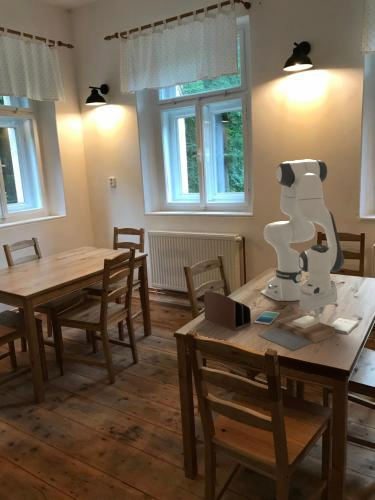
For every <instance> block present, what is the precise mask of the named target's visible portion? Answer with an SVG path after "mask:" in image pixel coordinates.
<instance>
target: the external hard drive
mask: <svg viewBox="0 0 375 500" xmlns="http://www.w3.org/2000/svg"><path fill="white" fill-rule="evenodd" d="M358 325H359V321H357V320H352V319H348V318H347V319H346V318H343V317H342V318H341V317H338V318H337V319H336V320H335V321H333V322H332V323H330V325H329V326H332V327H335V333H340V334H345V335H348V334H349V333H350V332H352V330H354V329H355V328H356V327H357V326H358Z"/></svg>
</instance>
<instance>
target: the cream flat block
mask: <svg viewBox="0 0 375 500" xmlns="http://www.w3.org/2000/svg"><path fill="white" fill-rule="evenodd" d="M319 322H320V318H316V317H315V316H311V315H308V314H307V315H305V316H303V317H302V318H299V319H296V320H294V321H293V324H294V325H296V326H299V327H302V328H304V329H305V328H308V327H310V326H313V325H315V324H318V323H319Z"/></svg>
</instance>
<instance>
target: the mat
mask: <svg viewBox="0 0 375 500" xmlns="http://www.w3.org/2000/svg"><path fill="white" fill-rule="evenodd" d="M258 336H259V337H261V338H263V339H264V340H267V341H270V342H272V343H274V344H277V345H278V346H281V347H283V348H286V349H288V350H290V351H292V352H294V351H297V350H299V349H301V348H303V347H306V346H308V345H310V344H313V341H310V340H308V339H305V338H303V337H300V336H298V335H295V334H293V333H290V332H288V331H285V330H283V329H280V328H276V327H275V328H272V329H271V330H270V329H269V330H267V331H265V332H262V333H260V334H258Z"/></svg>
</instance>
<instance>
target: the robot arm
mask: <svg viewBox="0 0 375 500" xmlns="http://www.w3.org/2000/svg"><path fill="white" fill-rule="evenodd" d="M275 172H276V173H275V174H276V180H277V182H278V184H279V185H280V186H281V189H280V190H281V191H280V200H279V201H280V202H279V208H280V209H279V210H280V211H281V212H282V213H283V214H284V215H286V216H288V217H289V220H284V221H274V222H271V223H267V224H266V225H265V226H264V228H263V238H264V240H265V241H266V242H267V243H268V244H269V245H270V246H272V247H273V249H274V250H275V252H276V255H277V269H275V270H274V273H275V276H273V277H272V278H271V279H269V280H267V282H266V285H265V289H262V290H261V291H260V292H261V295H264V296H266V297H268V298H270V299H273V300H275V301H278V302H279V301H286V302H294V301H299V309H300V311H301V312H305V313H310V312H312V311H313V312H314V318H317V319H320V318H321V317H324V311H325V308H326V306H329V305H331V304H333V303H337V300H338V289H337V285H336V282H335V281H334V280H332V277H331V273H337V272H339V271H340V270H341V269H342V268H343V267H344V265H345V256H344V253H343V250H342V247H341V244H340V238H339V235H338V229H337V225H336V222H335V218H334V215H333V212H331V211H330V210H329V209H328V208H327V207H326V205H325V199H324V190H323V182H324V181H325V180H327V179H326V178H327V176H328V165H327V164H326V163H325V161H324V160H320V159H315V160H314V159H299V160H293V161H283V162H281V163H279V164H278V165H277V168H276V171H275ZM314 224H316V225H319V226H321V227H322V228H323V230H324V232H325V233H324V234H325V237H326V241H327V246H326V245H325V244H324V245H323V244H313V245H312V246H310V247H309V249H305V250H303V251H301V252H300V253H299V252H298V251H297V250H295V249H293V248H291V245H290V244H293V243H294V244H295V243H304V242H308V241H311V240H313V238H315V235H316V227H315V225H314ZM302 271H303V272H304V273H308V276H307V277H308V278H307V280H306V282H304V283H302V277H303V276H302V275H303V272H302ZM274 273H273V274H274Z"/></svg>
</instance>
